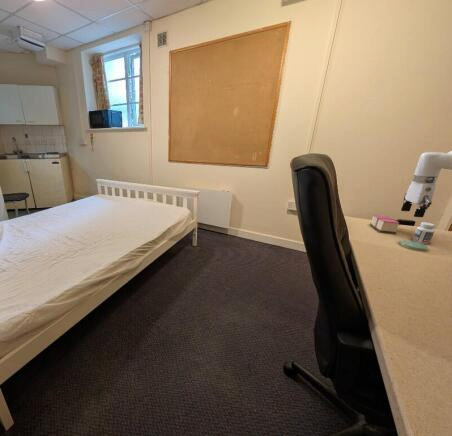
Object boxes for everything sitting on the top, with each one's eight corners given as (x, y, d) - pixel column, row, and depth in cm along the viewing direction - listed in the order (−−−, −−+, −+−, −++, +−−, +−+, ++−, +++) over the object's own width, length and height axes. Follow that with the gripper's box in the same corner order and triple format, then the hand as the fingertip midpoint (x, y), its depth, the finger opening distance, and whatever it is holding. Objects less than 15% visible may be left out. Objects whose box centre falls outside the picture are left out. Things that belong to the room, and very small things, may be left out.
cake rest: (390, 228, 113) (394, 219, 112) (395, 232, 109) (399, 222, 108) (375, 227, 115) (379, 218, 114) (380, 230, 111) (383, 221, 110)
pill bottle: (430, 242, 101) (438, 224, 98) (427, 245, 98) (436, 226, 95) (413, 238, 105) (420, 220, 102) (410, 240, 102) (418, 223, 99)
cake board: (384, 226, 119) (384, 224, 118) (395, 234, 109) (396, 232, 109) (369, 224, 121) (370, 223, 121) (379, 232, 112) (380, 230, 111)
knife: (409, 229, 112) (413, 220, 110) (411, 230, 110) (415, 221, 109) (374, 225, 117) (377, 217, 115) (376, 227, 115) (379, 218, 113)
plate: (418, 243, 99) (419, 241, 99) (431, 252, 92) (432, 249, 92) (395, 241, 102) (396, 238, 102) (406, 249, 95) (407, 246, 95)
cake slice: (384, 224, 118) (387, 216, 117) (389, 227, 114) (392, 218, 113) (370, 223, 120) (373, 214, 119) (374, 226, 116) (377, 217, 115)
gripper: (450, 183, 94) (434, 220, 100) (421, 176, 109) (409, 209, 115) (426, 182, 97) (413, 218, 102) (402, 176, 112) (391, 208, 118)
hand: (411, 213), depth 109 cm, fingers open, 9 cm apart
